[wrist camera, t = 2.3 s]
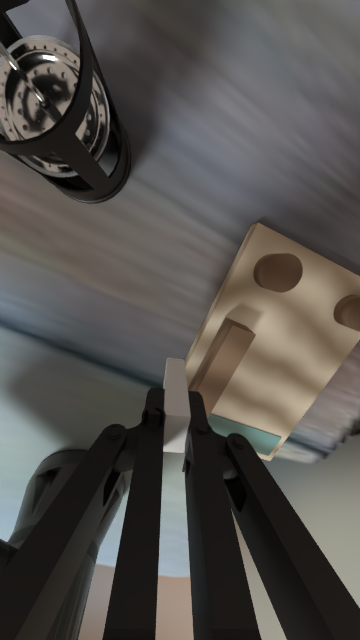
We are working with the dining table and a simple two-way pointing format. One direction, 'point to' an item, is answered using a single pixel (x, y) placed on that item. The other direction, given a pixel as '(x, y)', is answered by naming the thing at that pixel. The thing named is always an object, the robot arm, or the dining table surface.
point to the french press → (58, 109)
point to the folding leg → (221, 361)
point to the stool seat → (279, 335)
